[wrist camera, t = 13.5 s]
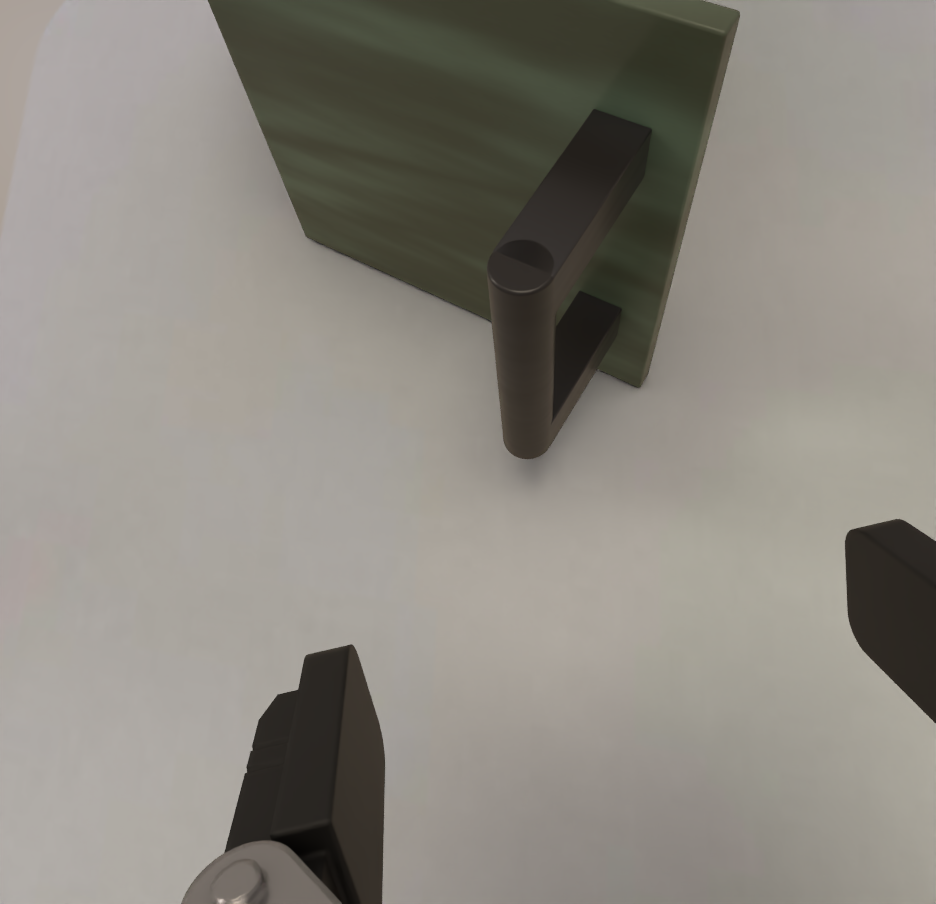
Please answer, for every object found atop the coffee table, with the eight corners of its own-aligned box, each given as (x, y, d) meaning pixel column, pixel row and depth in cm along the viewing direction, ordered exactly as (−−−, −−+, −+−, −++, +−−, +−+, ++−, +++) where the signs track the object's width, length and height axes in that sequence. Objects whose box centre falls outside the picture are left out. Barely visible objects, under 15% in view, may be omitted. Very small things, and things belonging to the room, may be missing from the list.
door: (567, 515, 27) (594, 236, 13) (223, 336, 31) (-11, -6, 18) (648, 373, 29) (742, 9, 16) (316, 224, 33) (167, -156, 20)
